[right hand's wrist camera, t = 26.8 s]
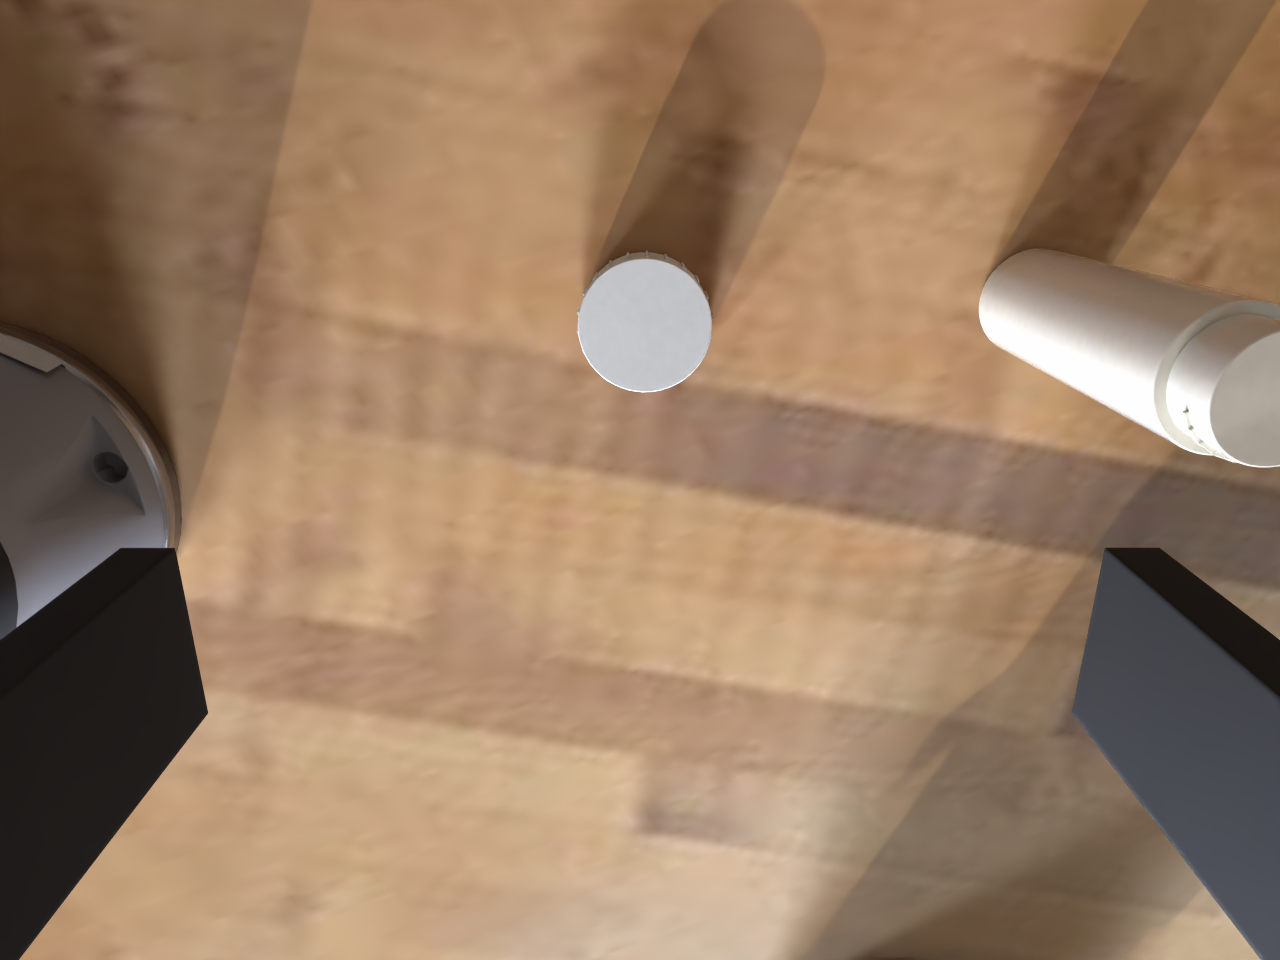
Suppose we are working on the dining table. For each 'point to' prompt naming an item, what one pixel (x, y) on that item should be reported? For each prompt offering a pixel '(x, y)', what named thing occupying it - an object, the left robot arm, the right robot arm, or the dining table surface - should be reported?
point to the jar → (1146, 348)
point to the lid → (644, 322)
